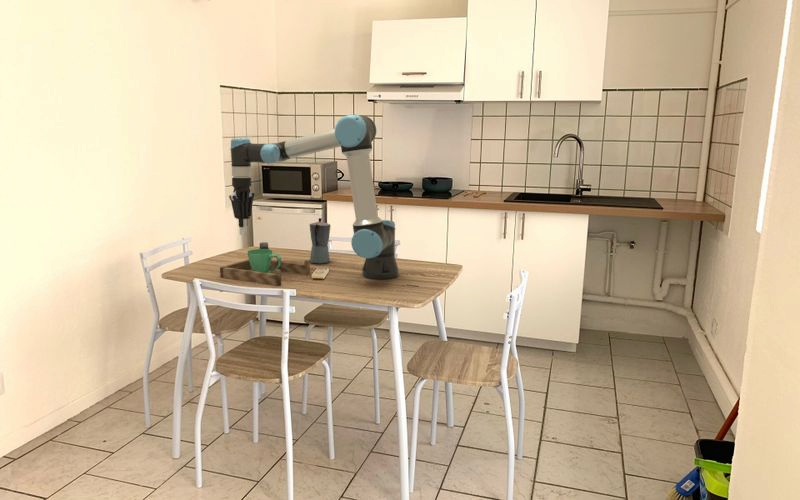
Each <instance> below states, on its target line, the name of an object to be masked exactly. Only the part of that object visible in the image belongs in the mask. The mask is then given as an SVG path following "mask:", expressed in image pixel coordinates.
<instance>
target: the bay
mask: <svg viewBox="0 0 800 500" xmlns="http://www.w3.org/2000/svg"><path fill="white" fill-rule="evenodd" d="M259 249H269V250H270V248H269V243H268V242H267V241H266V242H264V241H263V242H259ZM276 265H277V260H274V259H271V263H270V267H269V270H268V271H271V270H273V269H274V268H275V266H276ZM282 272H283V273H289V274H298V275H303V276H309V275H311V262H310V259H305V260H304V264H303V263H297V262H296V263H295V262H289V261H282V260H281V265H280V266H279V267H278V268H277V270H275V272H274V273H263V272H256V271H252V268H251V265H250V261H249V258H248V259H245V260H242V261H238V262H235V263H234V262H233V263H230V264H227V265H224V266H220V267H219V275H220V278H222V279H223V278H224V279H230V280H237V281H243V282H250V283H256V282H257V283H258V284H263V285H271V286H276V287H280V286H282Z"/></svg>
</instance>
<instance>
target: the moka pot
mask: <svg viewBox="0 0 800 500" xmlns="http://www.w3.org/2000/svg"><path fill="white" fill-rule="evenodd" d="M309 231H310V240H311V251H310V256H309V258H310V259H309V260H310V264H311V263H312V264H328V263H330V261H331V260H330V251H329V240H330V233H331V224H330V223H327V222H324V221H323V219H322V218H321V217H319V218H318V221H316V222H311V223H309Z"/></svg>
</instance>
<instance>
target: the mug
mask: <svg viewBox="0 0 800 500" xmlns="http://www.w3.org/2000/svg"><path fill="white" fill-rule="evenodd" d="M247 257H248V259H249V261H250V265H251V268H252V269H251V271H256V272H263V273H270V274H274V273H275V270H277V268H278V267H279V266H280V265H281V261H282V256H280V254H278V253H273V250H271V249H270V248H269V249H260V248H257V249H256V248H255V249H249V250H247ZM272 258H276V261H277V265H276V266H275V268H274V269H273V270H269V267H270V263H271V260H272Z"/></svg>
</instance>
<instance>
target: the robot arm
mask: <svg viewBox="0 0 800 500" xmlns="http://www.w3.org/2000/svg"><path fill="white" fill-rule="evenodd" d="M376 135H377V126H376V123H375V122H374V120H373V119H371V117H368V115H367V116H366V115H360V114H359V115H358V114H347V115H344V116H342V117H341V118H340V119H339V120H338V121H337V123H336V125H335V128H332V129H331V128H330V129H327V130H323V131H319V132H315V133H311V134H308V135H304V136H300V137H297V138H296V137H295V138H291V139H288V140H284V141H280V142H275V143H273V142H272V143H270V142H269V143H251V139H250V138H246V137H233V138H232V139H231V140H230V157H231V158H230V160H231V177H232V178H231V187H233V193H232V195H229V196H228V197H229V200H230V202H231V206H232V211H233V212H232V213H233V217H234V219H236V220H238V227H239V235H240V236H248V220H249V219H250V217H252V212H253V211H252V210H253V203H254V202H253V200H254V198H255V192H251V188H250V187H252V168H251V167H252V165H251V163H257V164H259V163H260V164H267V165H268V164H276V163H278V162H279V163H280V162H285V161H287V160H290V159H294V158H299V157H302V156H307V155H311V154H315V153H320V152H323V151H328V150H332V149H336V148H341V149H340V151H341V154H342V155H343V156H345V158H346V163H347V170H348V176H349V183H350V190H351V196H352V202H353V210H354V216H355V221H353V223H352V230H353V235H352V237H351V242H350V243H351V248H352V250H353V251H354V253H355V254H356V255H357V256H358V257H360V258H362V259H364V263H363V266H362V270H361V271H362V273H361V274H362V277H365V278H367V279H371V280H372V279H374V280H387V279H394V278H397V277H398V276H399V275H400V271H399V270H400V269H399V266H398V263H397V260H396V257H395V256H396V254H395V253H396V250H395V249H396V248H395V247H396V243H395V242H396V224H395V222H394V221H393V220H389V219H388V220H387V219H386V220H385V219H382V218H381V217H379V216H378V215H379V214H378V209H377V201H376V193H375V187H374V181H373V180H374V179H373V172H372V165H371V158H370V153H371V152H372V151H373V143H372V142H373V141H374V140H375V138H376Z"/></svg>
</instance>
